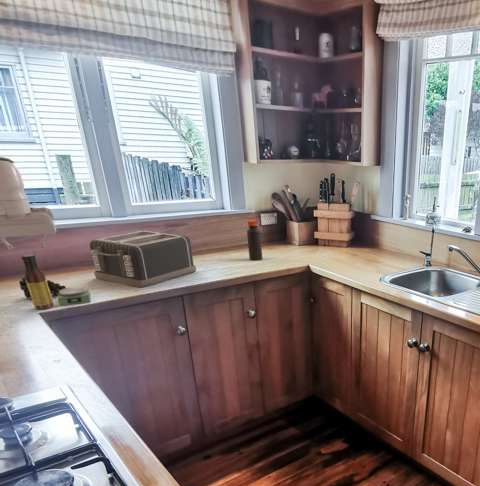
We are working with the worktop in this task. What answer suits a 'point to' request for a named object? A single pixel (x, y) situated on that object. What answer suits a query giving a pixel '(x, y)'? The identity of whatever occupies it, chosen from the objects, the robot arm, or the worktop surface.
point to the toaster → (142, 257)
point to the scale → (75, 298)
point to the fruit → (52, 286)
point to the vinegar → (254, 241)
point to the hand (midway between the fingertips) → (27, 248)
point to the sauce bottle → (37, 283)
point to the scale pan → (73, 291)
